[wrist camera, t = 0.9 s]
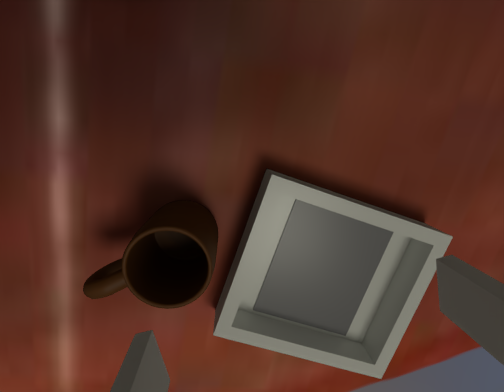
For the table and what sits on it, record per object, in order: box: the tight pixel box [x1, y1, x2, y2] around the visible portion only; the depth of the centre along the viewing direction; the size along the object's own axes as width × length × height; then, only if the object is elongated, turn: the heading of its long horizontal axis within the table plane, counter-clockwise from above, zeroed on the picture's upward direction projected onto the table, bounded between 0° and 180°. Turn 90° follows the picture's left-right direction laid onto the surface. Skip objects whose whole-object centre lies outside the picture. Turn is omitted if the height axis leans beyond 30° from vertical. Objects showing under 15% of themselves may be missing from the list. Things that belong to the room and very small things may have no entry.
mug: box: [83, 200, 218, 309], centre depth 29 cm, size 12×8×9 cm, turn 109°
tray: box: [213, 169, 452, 379], centre depth 33 cm, size 20×18×4 cm
